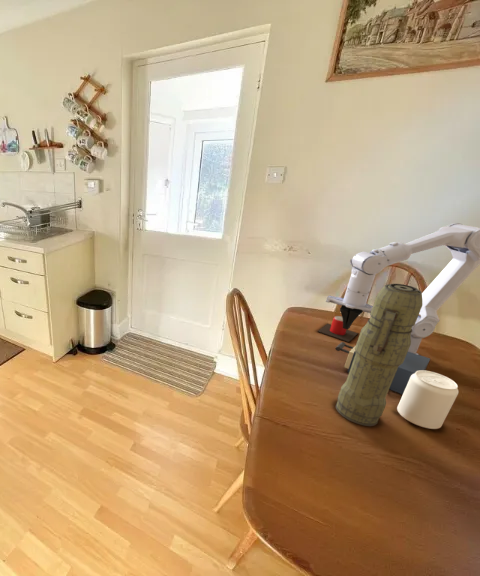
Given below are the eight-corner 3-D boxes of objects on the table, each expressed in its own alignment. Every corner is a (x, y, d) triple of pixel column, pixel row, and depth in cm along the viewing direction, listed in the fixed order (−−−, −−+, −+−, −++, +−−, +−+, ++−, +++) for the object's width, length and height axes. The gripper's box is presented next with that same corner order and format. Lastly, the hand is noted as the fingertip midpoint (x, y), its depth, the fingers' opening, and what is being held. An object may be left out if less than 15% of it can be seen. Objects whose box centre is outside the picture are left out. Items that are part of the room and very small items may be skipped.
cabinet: (347, 372, 97) (354, 351, 94) (360, 358, 104) (367, 338, 101) (411, 398, 86) (421, 375, 83) (420, 380, 93) (430, 358, 90)
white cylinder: (450, 433, 74) (471, 392, 70) (410, 428, 76) (429, 388, 72) (424, 409, 82) (442, 371, 77) (388, 405, 83) (404, 367, 79)
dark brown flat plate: (327, 324, 126) (327, 323, 126) (357, 334, 118) (358, 333, 118) (317, 331, 120) (317, 330, 120) (348, 342, 113) (348, 341, 113)
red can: (332, 327, 122) (336, 314, 120) (347, 332, 119) (351, 319, 117) (327, 331, 120) (331, 318, 118) (342, 336, 116) (347, 322, 114)
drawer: (328, 361, 101) (333, 345, 99) (341, 349, 107) (345, 334, 105) (401, 390, 87) (408, 372, 85) (411, 374, 94) (418, 358, 92)
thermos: (380, 409, 82) (432, 285, 69) (375, 435, 74) (432, 300, 61) (339, 393, 87) (379, 276, 75) (330, 416, 80) (374, 289, 67)
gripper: (326, 286, 102) (316, 323, 107) (384, 300, 91) (369, 340, 96) (334, 281, 106) (324, 317, 111) (390, 294, 95) (376, 333, 100)
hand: (346, 328), depth 104 cm, fingers closed
